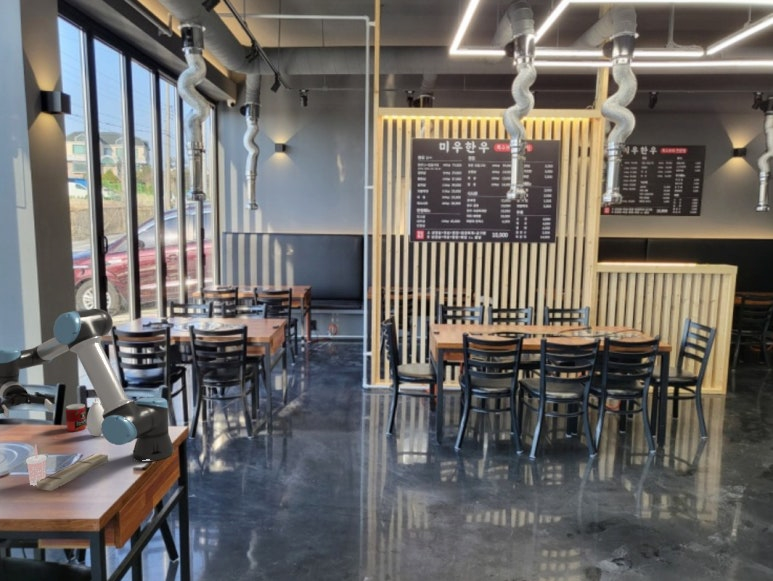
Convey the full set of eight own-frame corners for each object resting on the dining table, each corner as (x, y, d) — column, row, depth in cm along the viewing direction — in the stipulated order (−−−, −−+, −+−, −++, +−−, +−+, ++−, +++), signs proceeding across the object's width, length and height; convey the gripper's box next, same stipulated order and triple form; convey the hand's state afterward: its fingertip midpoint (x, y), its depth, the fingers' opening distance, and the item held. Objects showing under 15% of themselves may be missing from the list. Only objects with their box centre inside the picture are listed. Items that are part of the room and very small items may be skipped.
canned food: (77, 432, 238) (76, 408, 237) (62, 431, 240) (61, 407, 239) (90, 427, 246) (89, 404, 245) (75, 425, 247) (74, 403, 247)
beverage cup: (40, 478, 191) (38, 440, 190) (52, 480, 189) (50, 442, 187) (23, 484, 185) (21, 446, 184) (34, 487, 183) (32, 448, 182)
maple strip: (107, 461, 206) (107, 454, 206) (51, 490, 181) (50, 483, 180) (95, 459, 207) (94, 453, 207) (37, 488, 182) (36, 481, 182)
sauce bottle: (85, 435, 234) (83, 396, 233) (104, 431, 240) (102, 392, 238) (89, 440, 229) (87, 399, 227) (109, 435, 234) (107, 396, 233)
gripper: (49, 398, 216) (67, 414, 202) (-27, 408, 197) (-13, 427, 184) (50, 380, 215) (68, 395, 201) (-26, 389, 196) (-12, 406, 183)
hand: (30, 410), depth 192 cm, fingers open, 13 cm apart
